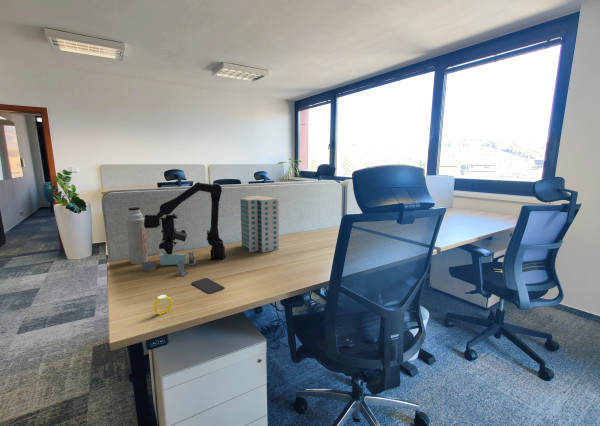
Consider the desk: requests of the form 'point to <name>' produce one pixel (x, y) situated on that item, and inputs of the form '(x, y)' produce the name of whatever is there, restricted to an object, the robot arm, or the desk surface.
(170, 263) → the light blue bar
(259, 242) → the building model
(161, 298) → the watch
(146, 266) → the dark gray cube
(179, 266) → the grey block
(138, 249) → the thermos bottle
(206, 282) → the phone
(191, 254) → the post
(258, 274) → the desk surface
